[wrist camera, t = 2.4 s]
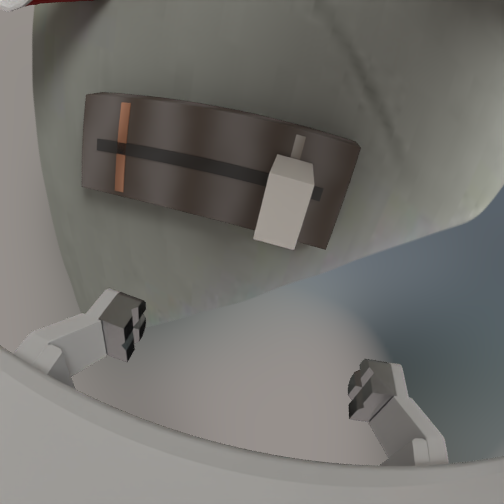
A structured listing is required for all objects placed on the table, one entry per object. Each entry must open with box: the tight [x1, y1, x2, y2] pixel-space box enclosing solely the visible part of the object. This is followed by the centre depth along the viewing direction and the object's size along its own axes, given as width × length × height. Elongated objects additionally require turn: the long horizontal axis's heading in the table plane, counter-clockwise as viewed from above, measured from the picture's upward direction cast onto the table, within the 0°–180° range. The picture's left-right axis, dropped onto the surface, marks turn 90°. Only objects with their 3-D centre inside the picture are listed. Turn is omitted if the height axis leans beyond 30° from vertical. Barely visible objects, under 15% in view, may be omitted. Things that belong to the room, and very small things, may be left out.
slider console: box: [82, 92, 361, 250], centre depth 28 cm, size 26×10×3 cm, turn 78°
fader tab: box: [253, 154, 314, 250], centre depth 24 cm, size 3×5×6 cm, turn 168°
